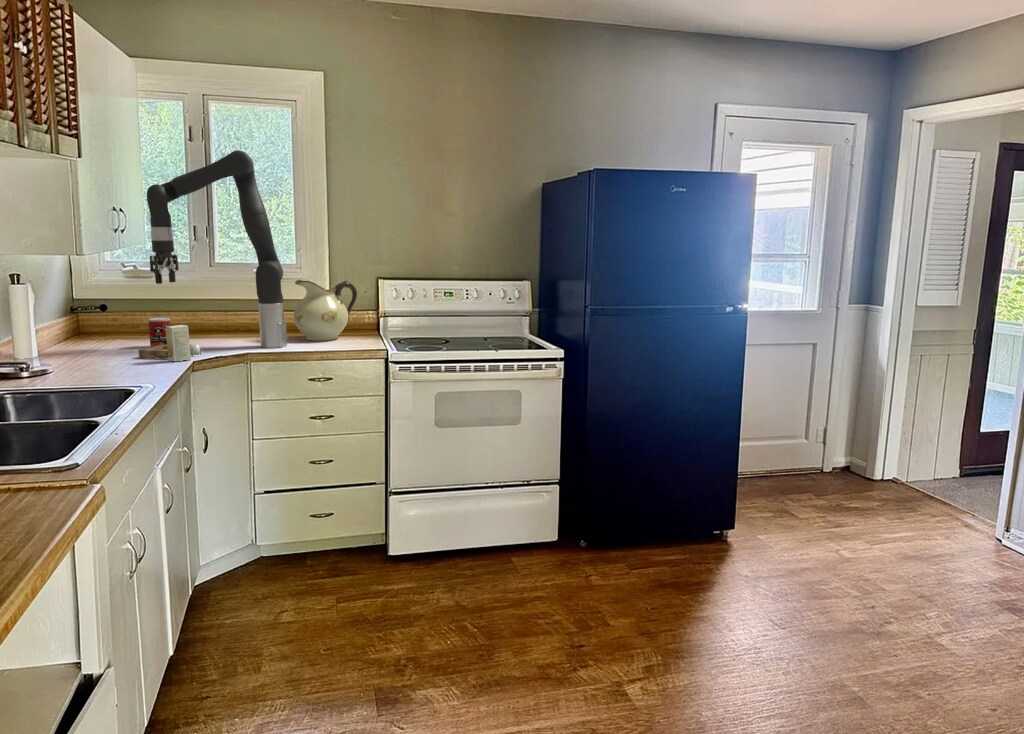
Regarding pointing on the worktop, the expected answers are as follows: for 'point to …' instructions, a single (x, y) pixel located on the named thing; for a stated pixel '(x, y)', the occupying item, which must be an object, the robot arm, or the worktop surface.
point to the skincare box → (178, 343)
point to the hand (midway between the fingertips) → (165, 283)
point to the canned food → (158, 331)
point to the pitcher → (323, 311)
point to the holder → (154, 352)
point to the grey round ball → (194, 349)
